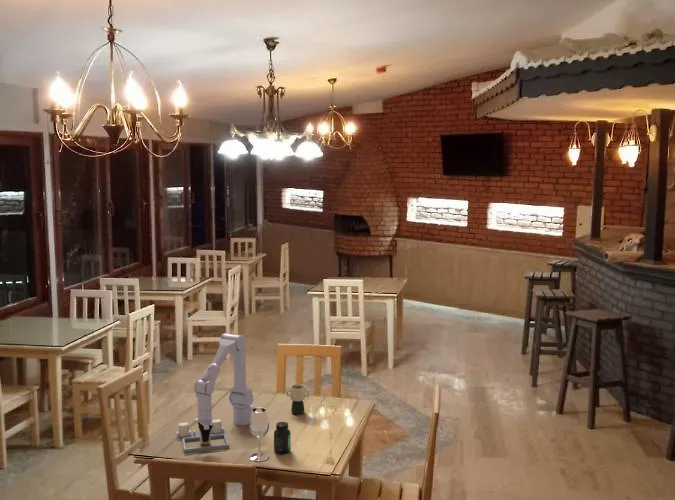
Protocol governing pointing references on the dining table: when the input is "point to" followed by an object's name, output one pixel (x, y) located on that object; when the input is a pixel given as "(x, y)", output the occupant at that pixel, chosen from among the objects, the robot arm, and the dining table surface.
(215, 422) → the fuse
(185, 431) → the block
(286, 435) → the supplement bottle
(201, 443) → the fuse marked
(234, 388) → the robot arm
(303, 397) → the character mug
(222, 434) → the tray
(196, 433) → the block
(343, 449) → the dining table surface
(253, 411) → the wineglass
